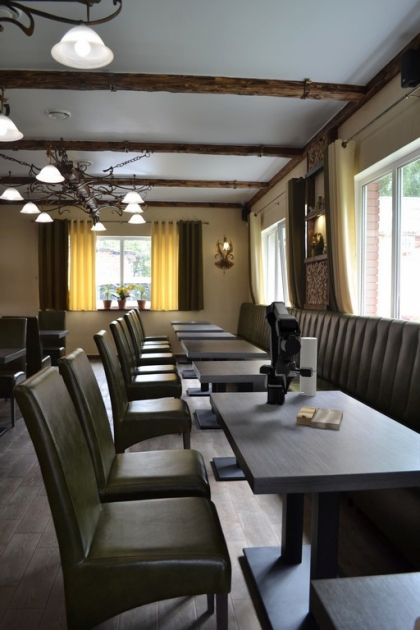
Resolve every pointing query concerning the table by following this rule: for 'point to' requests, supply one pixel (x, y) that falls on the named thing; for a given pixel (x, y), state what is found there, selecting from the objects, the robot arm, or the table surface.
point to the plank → (305, 415)
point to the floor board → (327, 418)
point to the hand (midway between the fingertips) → (285, 394)
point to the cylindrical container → (308, 365)
